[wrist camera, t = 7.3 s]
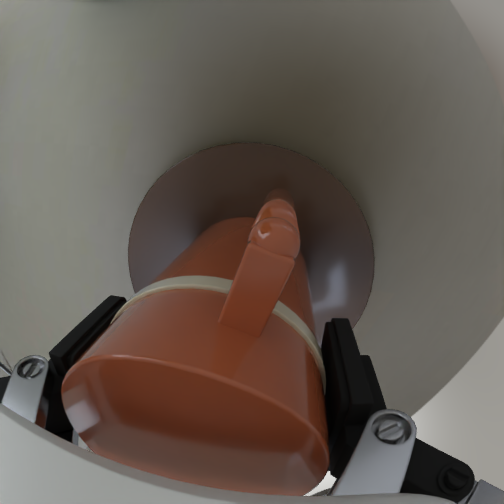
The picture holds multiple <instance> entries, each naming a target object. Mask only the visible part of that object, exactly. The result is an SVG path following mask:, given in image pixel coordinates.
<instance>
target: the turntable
mask: <svg viewBox="0 0 504 504" xmlns="http://www.w3.org/2000/svg"><path fill="white" fill-rule="evenodd" d="M278 188H281V189H285V190H287V191H288V192H289V193H290V194H291V195H292V197H293V201H294V206H295V211H296V217H297V222H298V228H299V234H300V240H301V246H300V250H301V252H302V254H303V257H304V260H305V263H306V267H307V273H308V279H309V285H310V292H311V298H312V304H313V311H314V318H315V325H316V332H317V339H318V344H319V346H320V348H321V343H322V338H323V333H324V327H325V323H326V322H331V319H332V318H348V319H349V321H350V324H351V327H352V329H353V328H354V326H355V325H356V323H357V322H358V320H359V319H360V317H361V315H362V313H363V311H364V309H365V307H366V305H367V302H368V299H369V296H370V292H371V289H372V283H373V277H374V251H373V243H372V239H371V235H370V231H369V228H368V225H367V223H366V220H365V218H364V216H363V213H362V211H361V209H360V208H359V206H358V205H357V203H356V201H355V200H354V198H353V197H352V195H351V194H350V193H349V192H348V190H347V189H346V188H345V187H344V186H343V184H342V183H341V182H340V181H339V180H338V179H337V178H335V177H334V176H333V175H332V174H331V173H330V172H329V171H327V170H326V169H325V168H323V167H322V166H320V165H319V164H317V163H316V162H314V161H313V160H311V159H309V158H307V157H305V156H303V155H301V154H299V153H296V152H294V151H291V150H288V149H285V148H282V147H278V146H275V145H268V144H261V143H231V144H224V145H218V146H215V147H211V148H208V149H205V150H201V151H199V152H197V153H195V154H193V155H191V156H188V157H186V158H185V159H183V160H181V161H180V162H178V163H177V164H175V165H174V166H172V167H171V168H170V169H169V170H168V171H166V172H165V173H164V174H163V175H162V176H161V177H160V178H159V179H158V180H157V181H156V182H155V183H154V185H153V186H152V187H151V188H150V190H149V191H148V192H147V194H146V196H145V197H144V199H143V200H142V202H141V204H140V206H139V208H138V211H137V213H136V215H135V218H134V221H133V224H132V228H131V232H130V238H129V246H128V263H129V270H130V277H131V281H132V284H133V288H134V291H135V294H136V293H137V292H139V291H140V290H141V289H143V288H145V287H147V286H148V285H149V284H150V283H151V282H152V281H153V280H154V279H155V278H156V277H157V276H158V275H159V274H160V273H161V272H162V271H163V270H164V269H165V268H166V267H167V266H168V265H169V264H170V263H171V262H172V261H173V260H174V259H175V258H176V257H177V256H178V255H179V254H180V253H181V252H182V251H183V250H184V249H185V248H186V247H187V246H189V245H190V244H191V243H192V242H193V241H194V240H195V239H196V238H197V237H198V236H199V235H200V234H201V233H202V232H203V231H204V230H206V229H207V228H208V227H210V226H212V225H213V224H215V223H217V222H220V221H223V220H225V219H230V218H236V217H251V218H256V217H257V215H258V213H259V211H260V209H261V207H262V205H263V203H264V201H265V199H266V196H267V195H268V193H269V192H270V191H272V190H274V189H278Z"/></svg>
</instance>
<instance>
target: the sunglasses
mask: <svg viewBox="0 0 504 504" xmlns="http://www.w3.org/2000/svg"><path fill="white" fill-rule="evenodd" d="M0 368H1V369H3V370H4V371H5V372H6V373H8V374H9V375H10V376H11V374H12V372H11V371H10V370H9V369H8V368H7V367H6V366H4V365H3V364H2V363H1V362H0Z"/></svg>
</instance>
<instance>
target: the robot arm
mask: <svg viewBox="0 0 504 504" xmlns="http://www.w3.org/2000/svg"><path fill="white" fill-rule="evenodd" d="M126 302H127V301H126V299H125V298H124V297H119V296H112V295H111V296H109V297H108V298H107V299H106V300H104V301H103V302H102V303H101V304H100V305H99V306H98V307H97V308H96V309H94V310H93V311H92V312H91V313H90V314H89V315H88V316H87V317H86V318H85V319H84V320H82V321H81V322H80V323H79V324H78V325H77V326H76V327H75V328H74V329H73V330H72V331H71V332H70V333H69V334H68V335H66V336H65V337H64V338H63V339H62V340H61V341H60V342H59V343H58V344H57V345H56V346H55V347H54V348H53V349H52V350H51V351H50V352H49V355H50V358H51V359H50V360H49V361H47V359H46V358H45V357H43V356H40V355H31V356H27V357H25V358H23V359H21V360H20V361H19V362H18V363H17V364H16V365H15V367H14V369H13V372H12V374H11V376H7V377H2V378H0V504H504V491H503V490H501V489H499V488H497V487H495V486H493V485H491V484H489V483H487V482H486V481H484V480H480V481H479V482H477V481H475V478H474V474H473V471H472V470H471V468H470V467H469V466H468V465H467V464H465V463H464V462H462V461H460V460H458V459H456V458H454V457H452V456H450V455H448V454H446V453H444V452H442V451H440V450H438V449H436V448H434V447H432V446H430V445H428V444H426V443H425V442H423V441H421V440H419V439H417V438H416V429H417V428H416V425H415V423H414V421H413V420H412V418H411V417H410V416H408V415H407V414H405V413H404V412H401V411H399V410H394V409H387V408H386V405H385V402H384V398H383V395H382V392H381V389H380V386H379V383H378V380H377V377H376V374H375V371H374V368H373V365H372V362H371V359H370V357H369V356H368V355H360V352H359V349H358V346H357V343H356V340H355V337H354V333H353V330H352V327H351V324H350V321H349V319H348V318H332V319H331V322H326V323H325V327H324V333H323V338H322V343H321V348H320V349H321V352H322V355H323V358H324V365H325V372H326V381H327V382H326V393H325V405H326V415H327V426H328V437H329V449H330V465H329V469H328V471H330V473H331V475H332V476H334V477H335V478H337V479H336V481H335V483H334V484H333V486H332V488H331V490H330V491H329V493H328V495H327V496H287V495H268V494H256V493H246V492H238V491H230V490H224V489H217V488H211V487H206V486H201V485H196V484H191V483H186V482H182V481H178V480H174V479H170V478H166V477H162V476H158V475H155V474H151V473H148V472H145V471H142V470H138V469H135V468H132V467H129V466H126V465H124V464H121V463H118V462H115V461H113V460H110V459H107V458H105V457H102V456H100V455H97V454H95V453H93V452H90V451H88V450H86V449H83V448H81V447H79V446H78V441H79V435H78V434H77V432H76V431H75V430H74V428H73V426H72V425H71V423H70V421H69V420H68V417H67V415H66V413H65V410H64V407H63V403H62V397H61V388H62V382H63V379H64V377H65V375H66V373H67V371H68V370H69V369H70V368H71V367H72V366H73V364H74V363H75V362H76V361H77V360H78V359H79V358H80V357H81V356H82V354H83V353H84V352H85V351H86V350H87V349H88V348H89V347H90V346H91V345H92V343H93V342H94V341H95V340H96V339H97V338H98V337H99V336H100V335H101V334H102V333H103V332H104V330H105V329H106V328H107V327H108V326H109V325H110V324H111V321H112V320H113V318H114V316H115V315H116V313H117V312H118V311H119V309H120V308H121V307H122V306H123V305H124V304H125V303H126Z"/></svg>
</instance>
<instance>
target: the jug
mask: <svg viewBox="0 0 504 504" xmlns="http://www.w3.org/2000/svg"><path fill="white" fill-rule="evenodd" d="M300 246H301V240H300V234H299V228H298V222H297V217H296V211H295V206H294V201H293V197H292V195H291V194H290V193H289V192H288V191H287V190H285V189H281V188H278V189H274V190H272V191H270V192H269V193H268V195H267V196H266V199H265V201H264V203H263V205H262V207H261V209H260V211H259V213H258V215H257V217H256V218H251V217H236V218H230V219H225V220H223V221H220V222H217V223H215V224H213V225H212V226H210V227H208V228H207V229H206V230H204V231H203V232H202V233H201V234H200V235H199V236H198V237H197V238H196V239H195V240H194V241H193V242H192V243H191V244H190V245H189V246H187V247H186V248H185V249H184V250H183V251H182V252H181V253H180V254H179V255H178V256H177V257H176V258H175V259H174V260H173V261H172V262H171V263H170V264H169V265H168V266H167V267H166V268H165V269H164V270H163V271H162V272H161V273H160V274H159V275H158V276H157V277H156V278H155V279H154V280H153V281H152V282H151V283H150V284H149V285H148V286H147V287H145V288H143V289H141V290H140V291H139V292H137V293H136V294H135V295H133V296H132V297H131V298H130V299H129V300H128V301H127V302H126V303H125V304H124V305H123V306H122V307H121V308H120V309H119V311H118V312H117V313H116V315H115V316H114V318H113V320H112V321H111V324H110V325H109V326H108V327H107V328H106V329H105V330H104V332H103V333H102V334H101V335H100V336H99V337H98V338H97V339H96V340H95V341H94V342H93V343H92V345H91V346H90V347H89V348H88V349H87V350H86V351H85V352H84V353H83V354H82V356H81V357H80V358H79V359H78V360H77V361H76V362H75V363H74V364H73V366H72V367H71V368H70V369H69V370H68V371H67V373H66V375H65V377H64V379H63V382H62V388H61V397H62V403H63V407H64V410H65V413H66V415H67V417H68V420H69V421H70V423H71V425H72V426H73V428H74V430H75V431H76V432H77V434H78V435H79V437H80V438H81V439H82V440H83V441H84V443H85V444H86V445H87V446H88V447H89V448H90V449H91V450H92V451H93V452H94V453H95V454H97V455H100V456H102V457H105V458H107V459H110V460H113V461H115V462H118V463H121V464H124V465H126V466H129V467H132V468H135V469H138V470H142V471H145V472H148V473H151V474H155V475H158V476H162V477H166V478H170V479H174V480H178V481H182V482H186V483H191V484H196V485H201V486H206V487H211V488H217V489H224V490H230V491H238V492H246V493H256V494H268V495H287V496H303V495H305V494H307V493H308V492H310V491H311V490H313V489H314V488H315V487H316V486H318V485H319V483H320V482H321V481H322V480H323V479H324V477H325V475H326V473H327V471H328V469H329V465H330V449H329V437H328V426H327V415H326V405H325V393H326V382H327V381H326V372H325V365H324V358H323V355H322V352H321V349H320V346H319V344H318V339H317V332H316V325H315V318H314V311H313V304H312V298H311V292H310V285H309V279H308V273H307V267H306V263H305V260H304V257H303V254H302V252H301V250H300Z"/></svg>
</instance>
